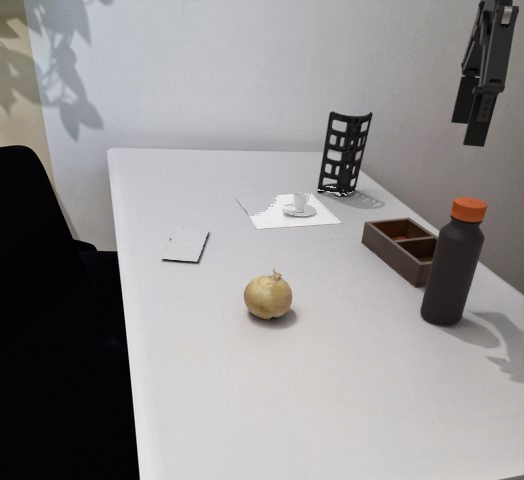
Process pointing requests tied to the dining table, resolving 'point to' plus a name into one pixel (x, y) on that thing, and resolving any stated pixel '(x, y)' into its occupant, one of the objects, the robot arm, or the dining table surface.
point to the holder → (344, 152)
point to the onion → (268, 296)
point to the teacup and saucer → (293, 212)
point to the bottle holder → (402, 247)
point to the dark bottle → (454, 263)
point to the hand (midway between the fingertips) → (466, 133)
